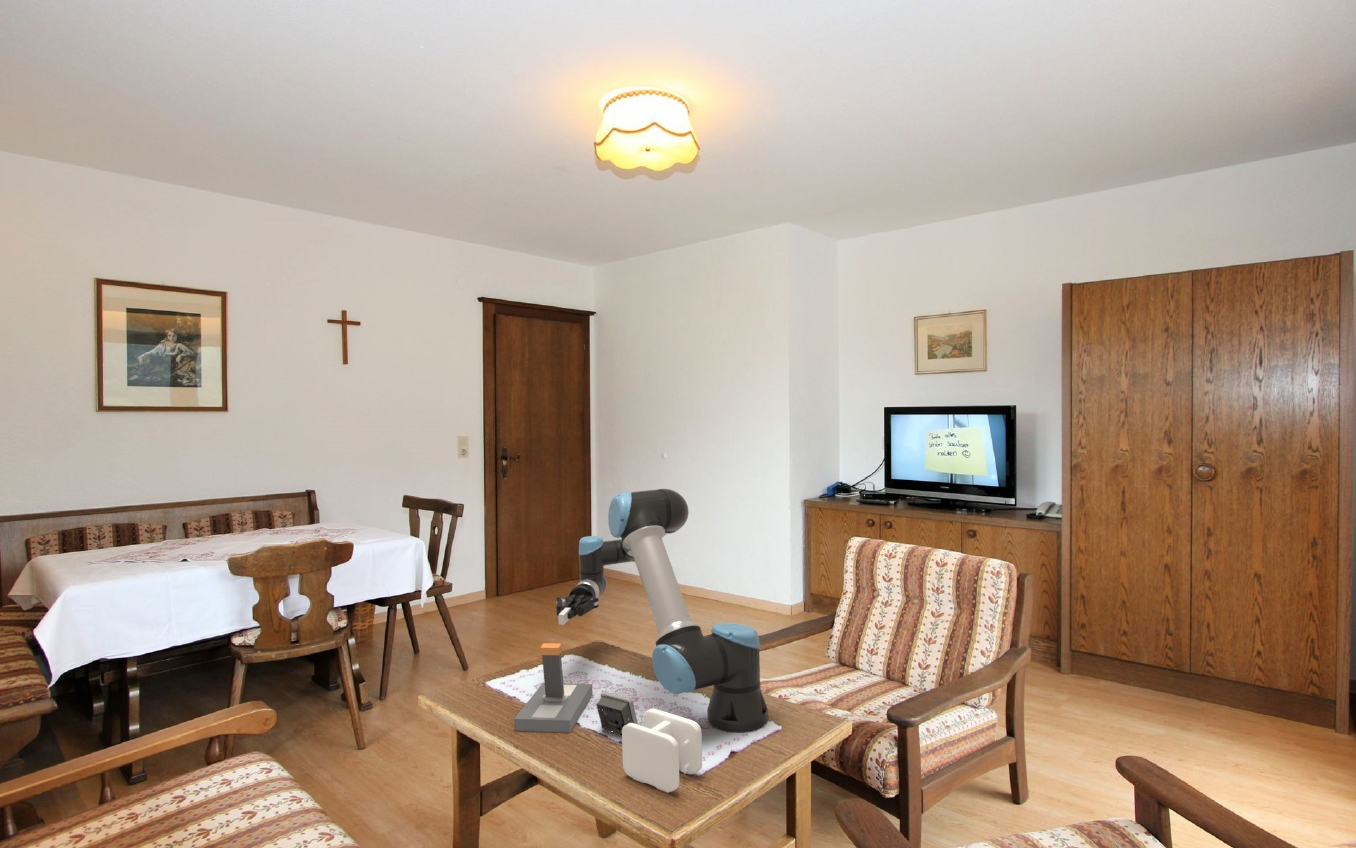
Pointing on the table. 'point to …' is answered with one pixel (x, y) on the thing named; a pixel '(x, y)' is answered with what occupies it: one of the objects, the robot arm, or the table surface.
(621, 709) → the electrical switch
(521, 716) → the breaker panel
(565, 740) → the table surface
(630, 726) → the cable organizer
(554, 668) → the breaker lever
